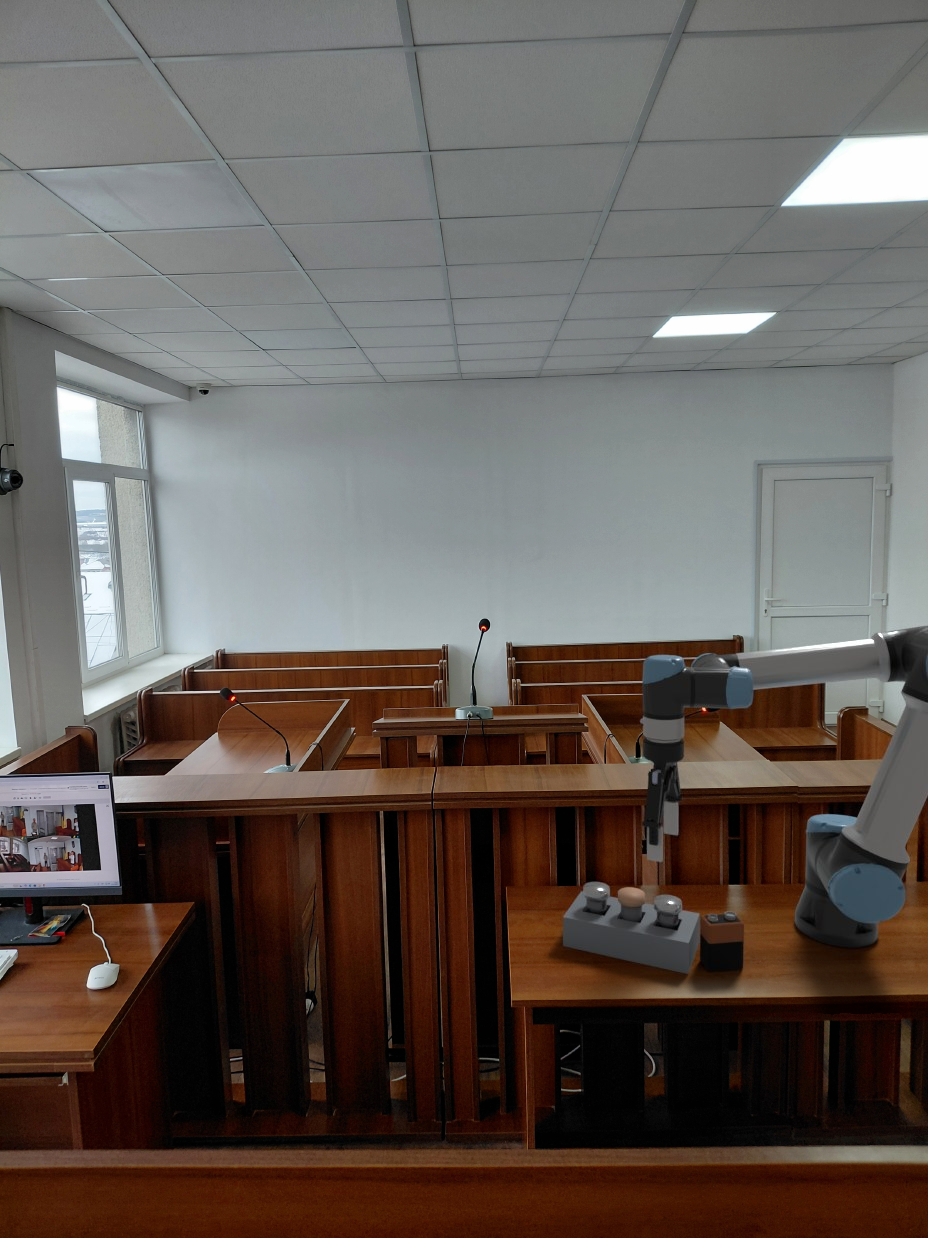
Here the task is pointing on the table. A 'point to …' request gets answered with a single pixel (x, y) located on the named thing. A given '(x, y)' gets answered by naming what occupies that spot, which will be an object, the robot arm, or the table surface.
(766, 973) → the table surface
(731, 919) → the battery
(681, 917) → the console
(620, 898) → the plunger mid
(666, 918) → the plunger
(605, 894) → the plunger
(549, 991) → the table surface
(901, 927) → the table surface
